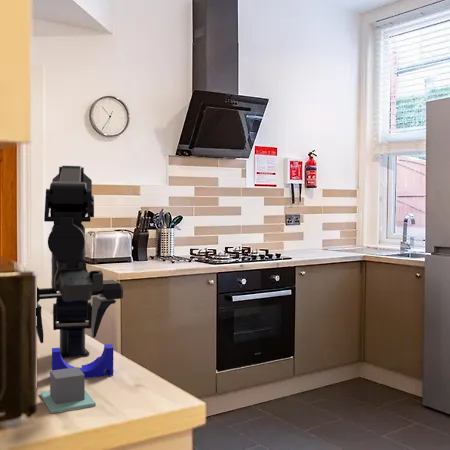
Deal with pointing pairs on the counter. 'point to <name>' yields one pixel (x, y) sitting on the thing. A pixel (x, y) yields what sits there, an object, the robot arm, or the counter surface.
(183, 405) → the counter surface
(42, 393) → the teal board
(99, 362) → the blue arched bracket
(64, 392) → the gray cube block
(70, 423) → the counter surface
